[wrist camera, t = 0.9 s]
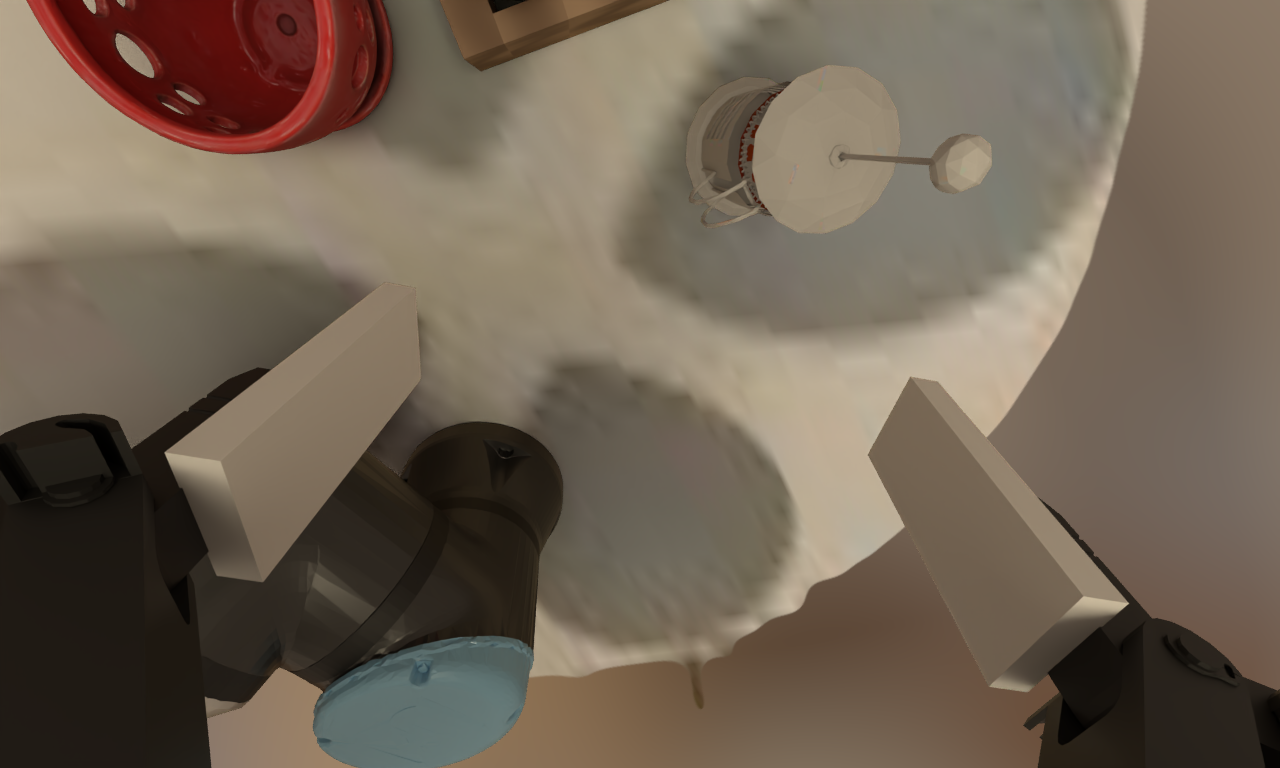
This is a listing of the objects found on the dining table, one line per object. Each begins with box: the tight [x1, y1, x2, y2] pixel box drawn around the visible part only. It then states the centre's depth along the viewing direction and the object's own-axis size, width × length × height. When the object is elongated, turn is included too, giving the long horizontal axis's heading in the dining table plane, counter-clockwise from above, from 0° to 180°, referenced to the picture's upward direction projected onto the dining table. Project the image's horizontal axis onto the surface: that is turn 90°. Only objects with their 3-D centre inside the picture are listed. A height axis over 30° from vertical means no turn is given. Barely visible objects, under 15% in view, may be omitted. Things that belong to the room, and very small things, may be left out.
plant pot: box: [27, 0, 393, 154], centre depth 28 cm, size 13×13×12 cm
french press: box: [686, 65, 992, 233], centre depth 28 cm, size 10×12×25 cm
